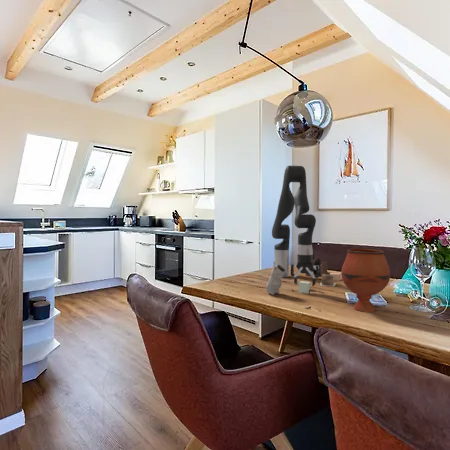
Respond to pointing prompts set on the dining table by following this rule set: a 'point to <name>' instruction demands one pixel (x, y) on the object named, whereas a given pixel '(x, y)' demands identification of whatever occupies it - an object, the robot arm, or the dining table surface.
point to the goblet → (365, 275)
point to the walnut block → (327, 279)
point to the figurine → (275, 280)
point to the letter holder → (321, 266)
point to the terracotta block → (336, 276)
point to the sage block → (304, 287)
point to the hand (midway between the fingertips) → (304, 285)
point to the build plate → (327, 285)
